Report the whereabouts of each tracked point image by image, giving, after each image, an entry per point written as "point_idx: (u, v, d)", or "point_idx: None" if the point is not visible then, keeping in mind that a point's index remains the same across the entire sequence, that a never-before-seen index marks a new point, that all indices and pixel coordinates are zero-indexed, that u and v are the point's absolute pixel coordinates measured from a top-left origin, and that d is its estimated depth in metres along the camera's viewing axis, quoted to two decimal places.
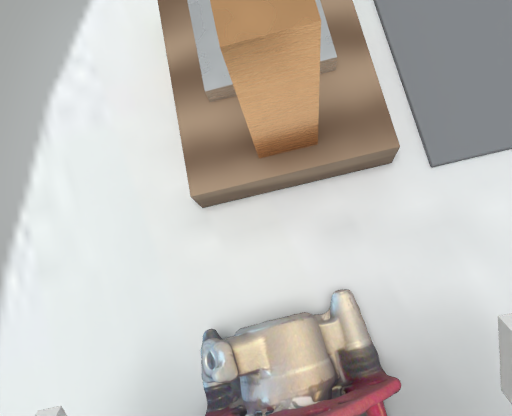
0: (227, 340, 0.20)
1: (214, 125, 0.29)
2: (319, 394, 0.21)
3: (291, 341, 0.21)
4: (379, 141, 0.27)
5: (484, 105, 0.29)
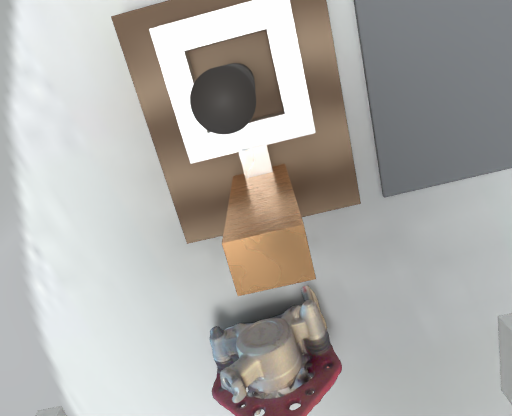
0: (236, 369, 0.31)
1: (199, 181, 0.31)
2: (293, 381, 0.34)
3: (277, 360, 0.32)
4: (344, 199, 0.32)
5: (437, 144, 0.33)
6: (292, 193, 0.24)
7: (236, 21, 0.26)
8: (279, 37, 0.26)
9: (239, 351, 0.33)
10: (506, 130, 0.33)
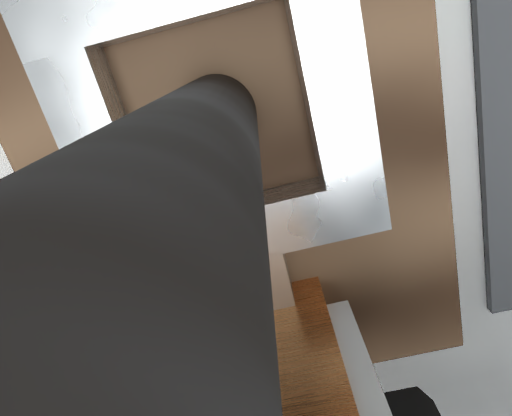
0: None
1: None
2: None
3: None
4: (433, 337, 0.16)
5: None
6: None
7: None
8: (318, 14, 0.11)
9: None
10: None
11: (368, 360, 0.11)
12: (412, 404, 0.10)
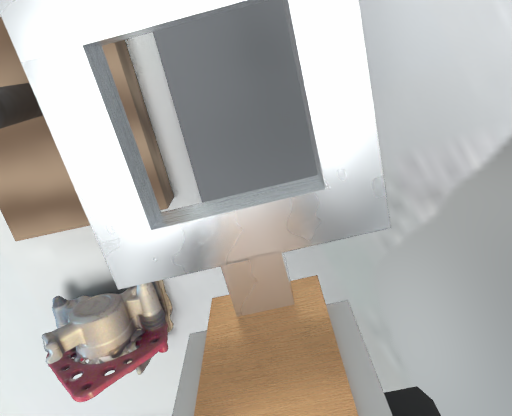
0: (57, 334, 0.34)
1: (19, 185, 0.35)
2: (117, 351, 0.37)
3: (98, 330, 0.35)
4: None
5: (243, 156, 0.36)
6: None
7: None
8: (317, 12, 0.11)
9: (68, 319, 0.36)
10: (304, 144, 0.36)
11: (368, 360, 0.11)
12: (412, 404, 0.10)
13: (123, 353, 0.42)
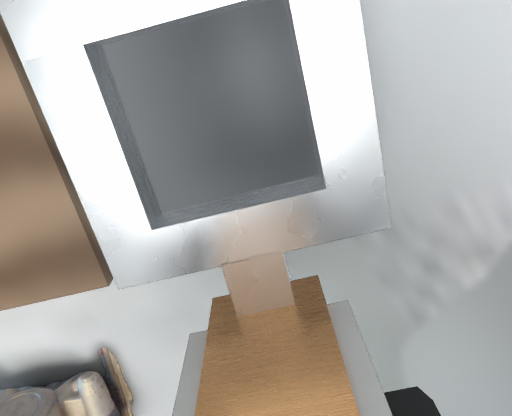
0: None
1: None
2: None
3: None
4: (86, 280, 0.25)
5: None
6: None
7: None
8: (318, 11, 0.11)
9: None
10: None
11: (368, 360, 0.11)
12: (412, 404, 0.10)
13: None
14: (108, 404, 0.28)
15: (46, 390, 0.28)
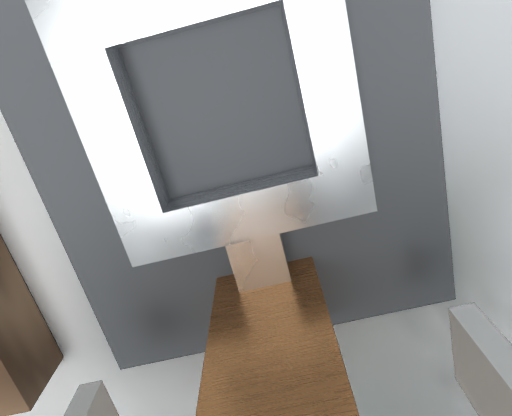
0: None
1: None
2: None
3: None
4: None
5: (198, 283, 0.17)
6: (349, 395, 0.10)
7: None
8: (310, 19, 0.12)
9: None
10: (328, 258, 0.17)
11: None
12: None
13: None
14: None
15: None
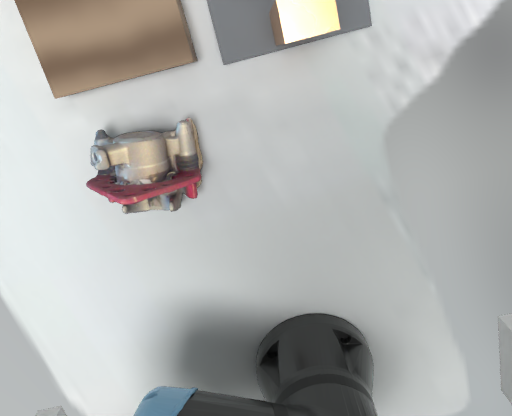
0: (105, 147, 0.37)
1: (58, 41, 0.38)
2: (155, 178, 0.40)
3: (142, 151, 0.38)
4: (179, 57, 0.39)
5: (261, 16, 0.40)
6: None
7: None
8: None
9: (113, 142, 0.39)
10: None
11: None
12: None
13: (153, 199, 0.45)
14: (194, 147, 0.42)
15: None
